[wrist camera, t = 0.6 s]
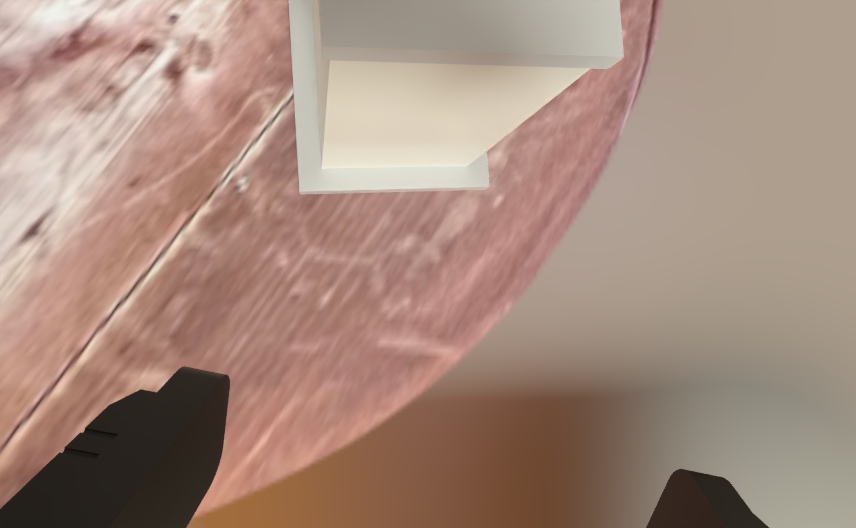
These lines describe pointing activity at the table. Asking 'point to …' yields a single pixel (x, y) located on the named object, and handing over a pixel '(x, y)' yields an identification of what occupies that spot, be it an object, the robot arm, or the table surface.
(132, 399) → the robot arm
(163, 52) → the table surface
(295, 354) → the table surface
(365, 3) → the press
